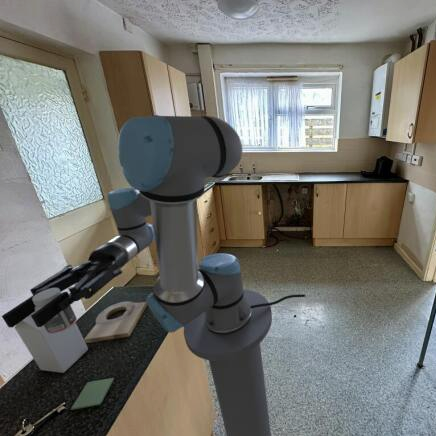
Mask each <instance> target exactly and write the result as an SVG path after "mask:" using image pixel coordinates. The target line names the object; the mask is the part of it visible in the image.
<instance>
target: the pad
mask: <svg viewBox="0 0 436 436" xmlns="http://www.w3.org/2000/svg"><path fill="white" fill-rule="evenodd" d="M114 381H115V377H111V378H110V377H109V378H105V379H99V380H92V381H88V382H87V383H85V385H84V387H83V389H82V390H81V392H80V393H79V395H78V397H77V398H76V400H75V401H74V403H73V404H72V406H71V407H70V410H71V411H73V410H74V411H75V410H79V409H85V408H89V407H90V408H91V407H95V406H101V404H102V403H103V401H104V399H105V397H106V396H107V393H108V392H109V390H110V388H111V386H112V384H113V382H114Z"/></svg>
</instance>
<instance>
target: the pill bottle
mask: <svg viewBox="0 0 436 436" xmlns="http://www.w3.org/2000/svg"><path fill="white" fill-rule="evenodd" d="M62 293H63V292H61V291H60V289H59V288H50V289H47V290H44V291H42V292H39V293H38V294H36V295H35V296H34V297H33V298H32V301H33V303H34V305H36V306H35V311H36V312H37V311H38V310H39V309H41V308H42V307H44V306H45V305H46V304H48V303H49V302H51V301H52V300H53V299H55V298H56V297H57V296H59V295H60V294H62ZM77 320H78V319H77V315H76V314H75V312H74V309H73V307H72V305H70V306H68V307H67V308H66V309H64V310H63V311H61V312H60V313H58V314H57V315H56V316H55V317H53V318H52V319H51V320H50V321H48V322H47V323H46V324H45V325H44V327H45V329H46V331H47V332H48V333H50V334H56V333H59V332H62V331H64V330H66V329H68V328H69V327H71V326H72V325H73V324H74V323H77Z"/></svg>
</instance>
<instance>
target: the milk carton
mask: <svg viewBox="0 0 436 436" xmlns="http://www.w3.org/2000/svg"><path fill="white" fill-rule="evenodd" d="M35 312H36V311H35ZM35 312H34V313H35ZM34 313H32V314H34ZM32 314H31V315H32ZM31 315H29V316H28V317H27V318H25V319H24V320H22V321H21V322H20V323H18V324H17V325H15V326H14V329H15V331H16V332H17V334H18V336H19V337H20V339H21V340H22V342H23V344H24V346H25V347H26V348H27V350H28V352H29V353H30V355H31V357H32V358H33V360H34V361H35V363H36V366H38V368H39V370H40V371H45V372H54V373H61V374H63V373H65V372H66V371H68V369H70V368H71V366H73V365H74V364H75V363H76V362H77V361H78V360H79V359H80V358H81V357H82V356H84V355H85V353H87V351H88V350H89V347H88V345H87V343H85V341H84V339H85V338H84V337H83V335H82V332H81V331H80V329H79V326H78V324H77V322H75V323H74V324H73V325H72V326H71V327H69V328H68V329H66V330H64V331H62V332H59V333H56V334H50V333H48V332H47V331H46V329H45V327H44V325H43V326H42V327H37V326H36V324H35V322H34V320H33V319H32V317H31Z"/></svg>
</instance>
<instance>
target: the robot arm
mask: <svg viewBox="0 0 436 436" xmlns="http://www.w3.org/2000/svg"><path fill="white" fill-rule="evenodd" d="M242 143H243V142H242V140H241V138H240V135H239V133H238V131H237V130H236V129H235V128H234V127H233V126H232V125H231V124H229V123H228V122H227V121H225V120H224V119H221V118H220V117H215V116H213V115H212V116H211V115H202V116H191V115H190V116H185V115H184V116H183V115H158V114H155V115H150V116H136V117H131V118H129V119H128V120H126V121H125V122H124V123H123V126H122V127H121V129H120V131H119V133H118V142H117V147H118V148H117V150H118V151H117V152H118V160H119V165H120V167H122V173H123V176H124V178H125V180H126V182H127V183H128V185H129V186H130V187H125V188H119V189H114V190H112V191H110V192H108V193H107V194H106V195H107V196H106V197H107V203H108V206H109V210H110V212H111V214H112V217H113V220H114V223H115V226H116V229H117V233H118V235H117V236H115V237H114V238H112V239H110V240H108V241H107V242H105V243H104V244H102V245H101V246H99V247H98V248H96V249H94V250H93V251H92V252H90V255H89V257H88V260H86V261H84V262H82V263H80V264H79V265H77V266H73V265H72V264H67V265H65V266H64V267H63V268H62V269H61V270H60V271H58V272H56V273H55V274H53V275H51V276H49V277H48V278H46V279H45V280H43V281H41V282H40V283H38V284H37V285H35V286H33V287H32V288H30V290H29V291H30V293H31V296H30V297H28V298H26V299H25V300H24V301H23V302H21V303H19V304H18V305H16V306H14V307H13V308H12V309H10V310H9V311H7V312H5V313H4V314H2V315H1V318H2V320H3V321H4V323H5V324H6V326H7V327H8V328H15V326H16V325H17V324H18V323H20V322H21V321H22V320H24V319H25V318H27V317H28V316H29V315H31V314H32V313H34V312H35V306H36V305H34V303H33V301H32V298H33V297H34V296H35V295H36V294H38V293H39V292H42V291H44V290H47V289H50V288H59V289H60V291H61V293H62V294H60V295H59V296H57V297H56V298H55V299H53V300H52V301H51V302H49V303H48V304H46V305H45V306H44V307H42V308H41V309H39V310H38V311H37V312H35V313H34V314H32V315H31V317H32V319H33V320H34V322H35V324H36V326H37V327H42V326H43V325H45V324H46V323H47V322H48V321H50V320H51V319H52V318H53V317H55V316H56V315H57V314H58V313H60V312H61V311H63V310H64V309H66V308H67V307H68V306H72V304H74V303H75V302H78V301H80V300H81V299H84V300H89V299H91V298H92V297H94V295H96V294H97V293H98V292H99V291H100V290H101V289H103V288H104V287H105V286H107V284H109V283H110V282H111V281H112V280H113V279H115V278H117V277H118V276H120V275H122V274H123V271H122V269H123V267H124V266H125V265H126V264H127V263H129V262H131V260H132V259H134V258H135V257H136V256H138V255H139V254H140V253H141V252H142V251H144V250H145V249H146V248H149V246H151V244H153V242H154V243H155V250H156V251H155V252H156V257H157V258H156V260H157V267H158V273H159V276H158V277H157V279H156V280H155V282H154V285H153V290H154V292H151V293H150V294H149V295H147V296H146V297H145V302H147V304H148V305H147V307H148V308H149V310H150V312H151V313H152V314H153V317H154V318H155V319H156V321H157V322H158V323H159V325H160V326H161V327H162V328H163V329H164V330H165V332H168V333H171V334H172V333H175V332H177V331H178V330H180V329H181V328H184V326H185V325H186V324H188V323H189V322H191V321H192V320H193V319H195V318H196V317H198V316H199V315H201V314H202V313H203V312H205V311H206V312H205V313H206V315H205V322H206V326H207V328H208V330H209V331H211V332H212V333H214V334H218V335H227V334H232V333H235V332H237V331H239V330H240V329H242V328H243V327H245V326H246V325H247V323H248V322H249V320H250V318H251V315H252V312H251V308H256V307H262V306H269V305H270V306H274V305H277V304H279V303H280V302H283V301H285V300H288V299H292V298H305V297H306V294H303V293H302V294H289V295H286V296H283V297H281V298H279V299H277V300H275V301H271V302H269V303H264V304H258V305H252V306H250V304H249V302H248V301H247V299H246V297H245V295H244V293H243V289H244V287H243V279H242V268H241V265H240V261H239V258H238V257H236V256H235V255H233V254H230V253H221V252H219V253H213V254H209V255H205V256H203V258H201V259H200V261H199V262H198V199H200V198H201V197H202V196H203V195H204V194H205V187H206V185H208V184H209V183H211V182H212V181H213V180H215V179H221V178H223V177H225V176H227V175H228V174H229V173H231V172H232V171H233V170H234V169H236V168H237V167H238V166H239V164H240V163H241V159H242V156H243V144H242ZM150 216H151V221H152V224H151V223H149V222H147V220H146V218H147V217H150ZM198 263H199V264H198ZM198 267H199V268H198ZM65 290H68V291H69V292H68V291H65Z"/></svg>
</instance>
